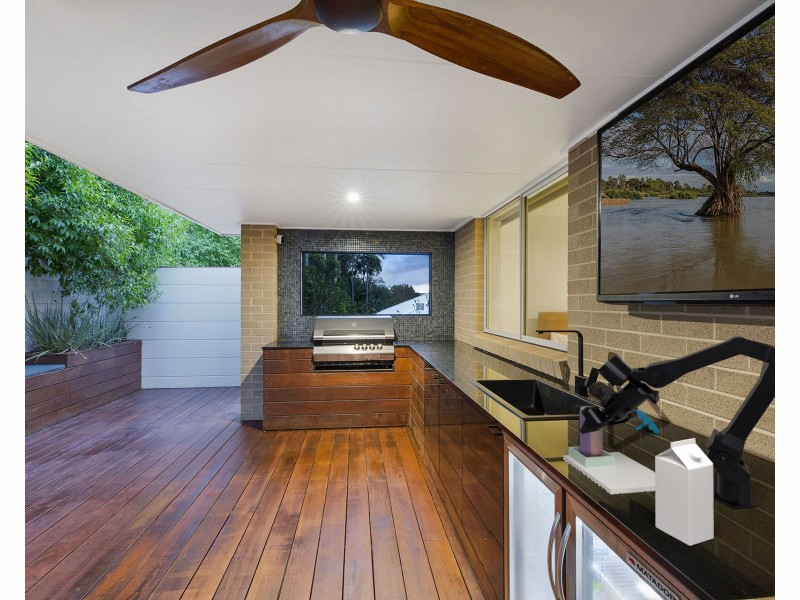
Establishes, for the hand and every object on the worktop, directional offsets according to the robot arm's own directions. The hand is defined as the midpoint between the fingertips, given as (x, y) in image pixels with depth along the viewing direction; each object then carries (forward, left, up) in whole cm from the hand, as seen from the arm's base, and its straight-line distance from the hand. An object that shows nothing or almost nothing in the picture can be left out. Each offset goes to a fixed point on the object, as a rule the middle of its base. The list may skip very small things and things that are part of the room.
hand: (590, 429), depth 119 cm
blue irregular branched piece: (+24, -37, -10) cm, 45 cm away
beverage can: (0, 0, -9) cm, 9 cm away
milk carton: (-35, +2, -10) cm, 37 cm away
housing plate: (-7, -3, -10) cm, 12 cm away
